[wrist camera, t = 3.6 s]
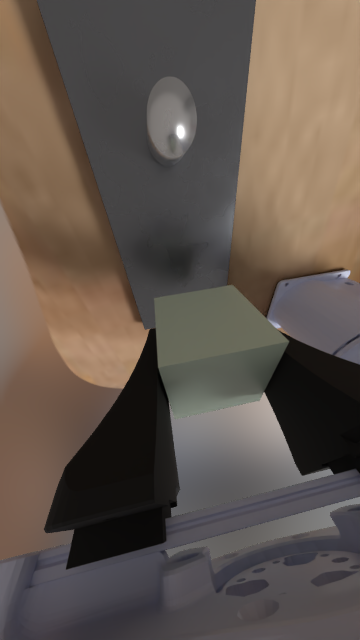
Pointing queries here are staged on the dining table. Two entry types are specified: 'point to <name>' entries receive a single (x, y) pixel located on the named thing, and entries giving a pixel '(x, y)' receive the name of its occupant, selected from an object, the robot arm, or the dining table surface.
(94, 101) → the base plate
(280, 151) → the dining table surface
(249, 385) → the sage green cube
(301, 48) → the dining table surface
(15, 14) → the dining table surface
